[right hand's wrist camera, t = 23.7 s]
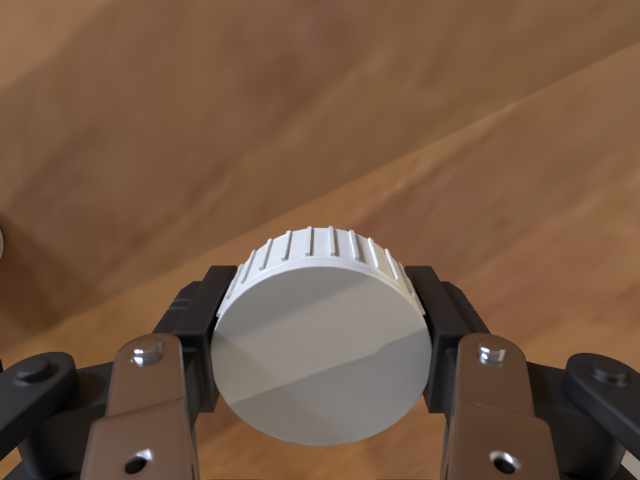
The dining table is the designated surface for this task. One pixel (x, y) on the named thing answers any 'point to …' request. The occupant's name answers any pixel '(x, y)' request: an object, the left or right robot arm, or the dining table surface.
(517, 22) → the dining table surface
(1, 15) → the dining table surface
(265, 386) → the lid
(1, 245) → the white bottle
